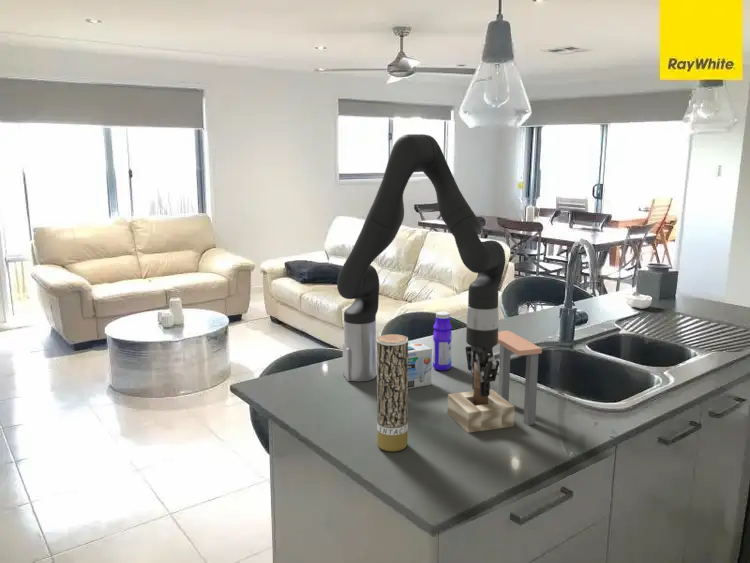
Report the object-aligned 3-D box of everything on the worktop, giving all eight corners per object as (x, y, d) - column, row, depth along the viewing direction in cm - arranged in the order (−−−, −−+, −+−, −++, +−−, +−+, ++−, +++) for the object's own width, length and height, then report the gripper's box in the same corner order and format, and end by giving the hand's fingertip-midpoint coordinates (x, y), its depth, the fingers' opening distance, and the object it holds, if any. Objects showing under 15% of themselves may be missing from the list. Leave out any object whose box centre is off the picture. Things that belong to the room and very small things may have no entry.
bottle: (450, 372, 185) (451, 316, 181) (431, 371, 186) (432, 315, 182) (452, 364, 192) (453, 310, 188) (434, 363, 193) (434, 309, 189)
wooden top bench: (515, 427, 147) (519, 350, 143) (485, 402, 162) (487, 332, 158) (538, 424, 148) (541, 348, 144) (505, 400, 163) (508, 330, 159)
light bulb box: (399, 391, 170) (399, 353, 168) (388, 383, 176) (388, 347, 174) (432, 384, 175) (433, 348, 173) (420, 377, 181) (420, 342, 179)
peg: (490, 410, 150) (491, 363, 147) (477, 412, 149) (478, 365, 146) (483, 405, 153) (485, 359, 151) (470, 406, 152) (471, 360, 150)
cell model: (637, 312, 255) (638, 296, 253) (618, 305, 266) (619, 290, 265) (657, 310, 257) (659, 294, 256) (638, 304, 269) (639, 288, 267)
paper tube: (376, 439, 141) (375, 334, 136) (405, 438, 141) (405, 333, 136) (378, 453, 134) (378, 343, 129) (409, 452, 135) (410, 342, 130)
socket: (467, 432, 144) (468, 412, 143) (447, 412, 155) (447, 394, 154) (513, 426, 147) (514, 406, 146) (490, 407, 159) (491, 388, 158)
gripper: (511, 331, 141) (508, 401, 144) (483, 316, 154) (481, 381, 158) (481, 333, 139) (479, 405, 142) (455, 318, 152) (454, 384, 156)
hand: (480, 392), depth 150 cm, fingers closed on peg, 3 cm apart
